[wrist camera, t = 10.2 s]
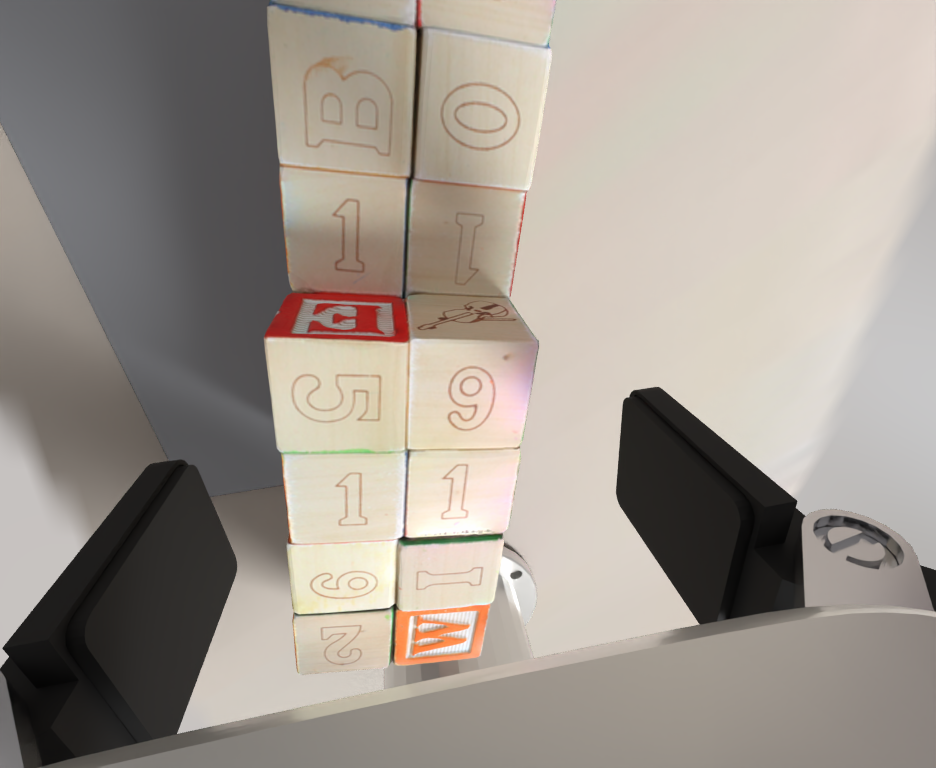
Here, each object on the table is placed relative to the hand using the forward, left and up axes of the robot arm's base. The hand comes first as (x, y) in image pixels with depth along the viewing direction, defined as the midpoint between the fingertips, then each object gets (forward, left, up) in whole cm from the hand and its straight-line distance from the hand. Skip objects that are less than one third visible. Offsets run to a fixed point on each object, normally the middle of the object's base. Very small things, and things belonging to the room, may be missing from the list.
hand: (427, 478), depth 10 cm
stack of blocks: (+1, 0, -14) cm, 14 cm away
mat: (+1, +6, -14) cm, 15 cm away
